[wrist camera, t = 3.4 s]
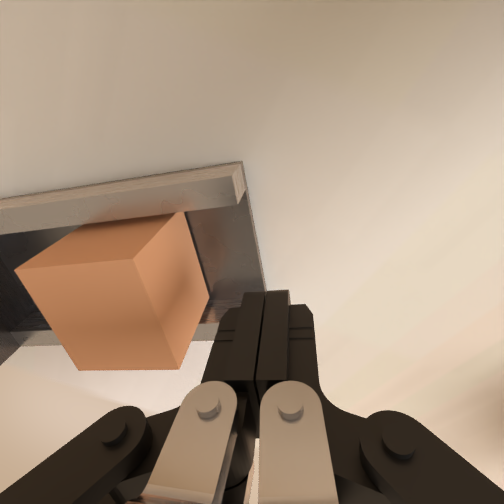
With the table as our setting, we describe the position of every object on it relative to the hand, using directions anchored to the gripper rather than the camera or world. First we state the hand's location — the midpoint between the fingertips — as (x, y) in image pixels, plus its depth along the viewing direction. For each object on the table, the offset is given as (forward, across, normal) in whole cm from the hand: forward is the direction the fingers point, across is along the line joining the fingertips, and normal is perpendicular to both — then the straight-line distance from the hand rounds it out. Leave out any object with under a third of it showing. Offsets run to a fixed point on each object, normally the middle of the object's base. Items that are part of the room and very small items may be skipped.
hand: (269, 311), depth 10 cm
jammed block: (+6, +7, 0) cm, 9 cm away
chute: (+6, +9, 0) cm, 11 cm away
